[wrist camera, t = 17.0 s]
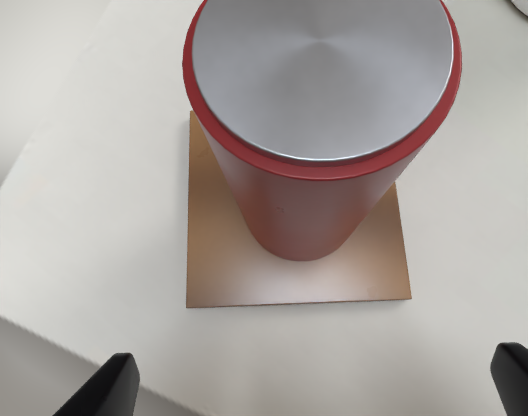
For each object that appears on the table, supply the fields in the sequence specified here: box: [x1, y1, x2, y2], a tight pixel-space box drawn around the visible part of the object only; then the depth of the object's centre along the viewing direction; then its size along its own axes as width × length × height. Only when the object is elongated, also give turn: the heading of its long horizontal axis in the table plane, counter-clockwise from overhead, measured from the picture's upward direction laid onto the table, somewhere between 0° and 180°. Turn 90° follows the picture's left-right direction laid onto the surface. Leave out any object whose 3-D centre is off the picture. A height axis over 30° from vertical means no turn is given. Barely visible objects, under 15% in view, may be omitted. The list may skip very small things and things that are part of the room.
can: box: [182, 0, 462, 261], centre depth 15 cm, size 6×6×13 cm
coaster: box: [186, 111, 412, 308], centre depth 22 cm, size 12×12×1 cm
